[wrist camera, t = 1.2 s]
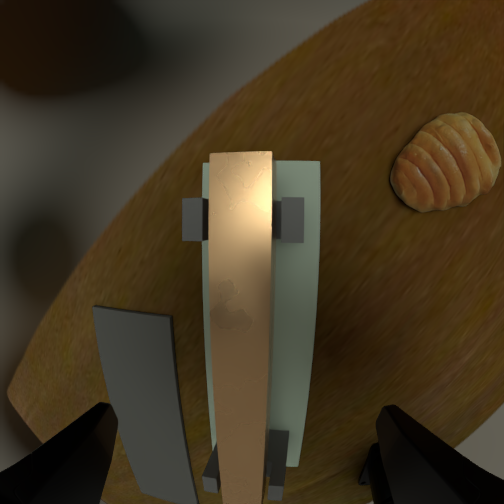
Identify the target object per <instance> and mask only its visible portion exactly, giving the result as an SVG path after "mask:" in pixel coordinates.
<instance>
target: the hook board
mask: <svg viewBox="0 0 504 504" xmlns="http://www.w3.org/2000/svg"><path fill="white" fill-rule="evenodd" d="M276 163H277V202H276V270H275V309H274V339H273V364H272V387H271V407H270V425H269V442H268V458H267V472H266V477H270V482H269V489H268V500H280V501H282V495H283V489H284V480H285V471H286V466H289V467H298V464H299V458H300V452H301V445H302V439H303V432H304V425H305V418H306V411H307V403H308V395H309V387H310V378H311V368H312V358H313V347H314V336H315V323H316V309H317V293H318V273H319V247H320V161H276ZM209 165H210V163H203V186H202V198H182V241H202V278H203V314H204V339H205V358H206V375H207V390H208V403H209V415H210V427H211V438H212V448H213V452H212V454H211V456H210V459H209V461H208V463H207V466H206V468H205V470H204V473H203V475H202V479H203V484H204V490H205V491H208V492H214V493H218V492H219V489H220V486H221V480H220V470H219V460H218V449H217V437H216V424H215V411H214V396H213V379H212V360H211V336H210V306H209Z"/></svg>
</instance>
